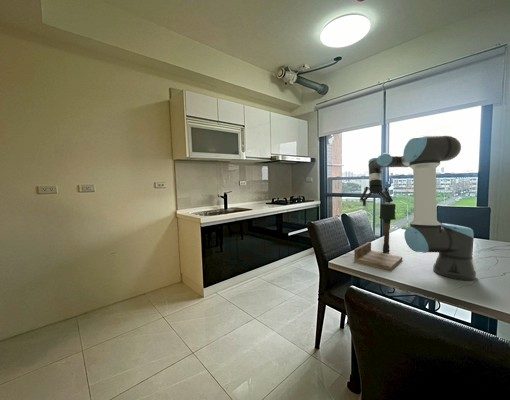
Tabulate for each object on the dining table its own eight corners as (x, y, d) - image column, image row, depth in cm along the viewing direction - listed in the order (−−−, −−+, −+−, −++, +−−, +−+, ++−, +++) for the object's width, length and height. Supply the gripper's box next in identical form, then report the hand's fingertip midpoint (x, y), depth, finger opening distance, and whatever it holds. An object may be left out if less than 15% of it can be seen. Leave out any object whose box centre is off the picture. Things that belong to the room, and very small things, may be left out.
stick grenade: (397, 254, 134) (399, 204, 131) (382, 255, 134) (384, 204, 131) (389, 250, 142) (391, 202, 140) (375, 250, 143) (377, 203, 140)
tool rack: (368, 253, 138) (368, 241, 137) (402, 260, 125) (402, 248, 124) (354, 261, 124) (354, 249, 124) (390, 270, 111) (391, 257, 111)
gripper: (391, 183, 156) (393, 214, 151) (354, 181, 158) (354, 211, 153) (397, 180, 149) (399, 212, 144) (358, 177, 150) (359, 209, 145)
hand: (376, 211), depth 148 cm, fingers open, 13 cm apart
